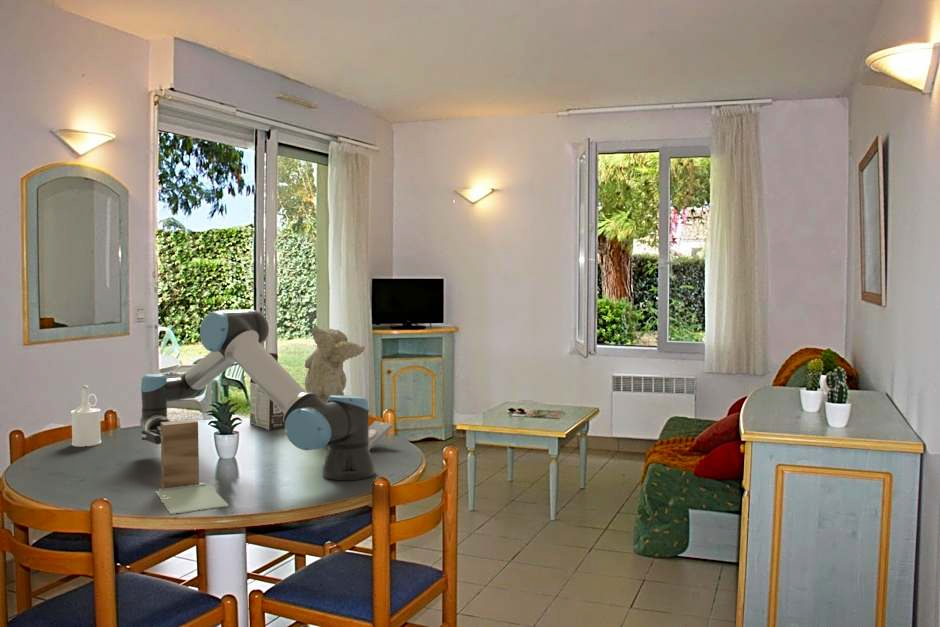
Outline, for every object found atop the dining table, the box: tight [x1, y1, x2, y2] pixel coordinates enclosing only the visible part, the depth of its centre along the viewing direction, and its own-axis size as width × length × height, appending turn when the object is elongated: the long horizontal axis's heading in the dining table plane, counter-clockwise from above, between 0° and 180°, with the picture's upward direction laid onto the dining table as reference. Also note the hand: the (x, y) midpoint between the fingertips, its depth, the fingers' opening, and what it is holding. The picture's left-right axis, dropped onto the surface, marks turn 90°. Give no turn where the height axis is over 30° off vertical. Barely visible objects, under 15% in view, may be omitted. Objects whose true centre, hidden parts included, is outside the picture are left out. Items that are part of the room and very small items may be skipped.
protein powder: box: [249, 352, 285, 431], centre depth 312 cm, size 16×9×28 cm, turn 42°
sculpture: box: [304, 322, 366, 403], centre depth 298 cm, size 22×24×40 cm
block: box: [160, 418, 200, 488], centre depth 226 cm, size 4×9×18 cm, turn 120°
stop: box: [158, 482, 207, 491], centre depth 224 cm, size 1×12×1 cm, turn 120°
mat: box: [155, 484, 230, 515], centre depth 215 cm, size 22×14×1 cm, turn 30°
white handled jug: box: [70, 385, 102, 448], centre depth 279 cm, size 10×9×20 cm
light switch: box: [369, 420, 394, 451], centre depth 276 cm, size 8×6×14 cm
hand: (174, 443), depth 233 cm, fingers closed
